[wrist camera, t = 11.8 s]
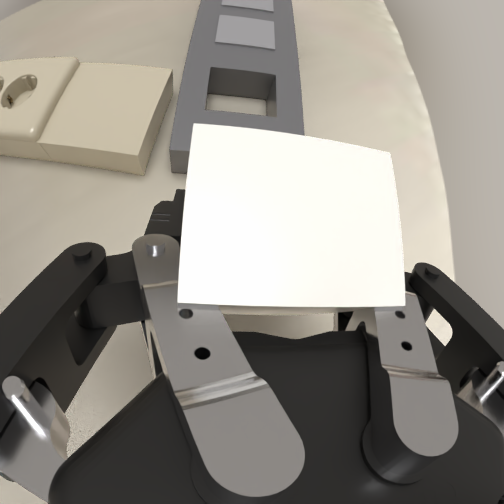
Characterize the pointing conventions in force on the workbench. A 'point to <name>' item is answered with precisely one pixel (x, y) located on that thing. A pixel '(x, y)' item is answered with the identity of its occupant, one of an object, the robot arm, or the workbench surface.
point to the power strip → (239, 70)
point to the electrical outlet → (82, 111)
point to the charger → (288, 224)
